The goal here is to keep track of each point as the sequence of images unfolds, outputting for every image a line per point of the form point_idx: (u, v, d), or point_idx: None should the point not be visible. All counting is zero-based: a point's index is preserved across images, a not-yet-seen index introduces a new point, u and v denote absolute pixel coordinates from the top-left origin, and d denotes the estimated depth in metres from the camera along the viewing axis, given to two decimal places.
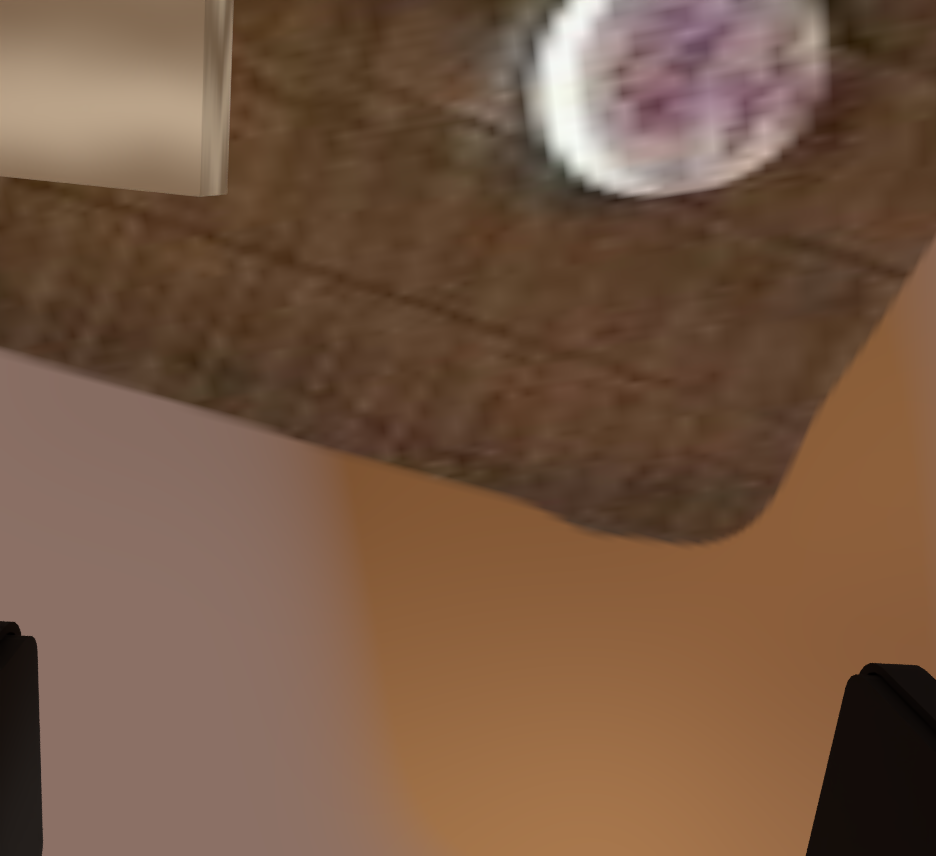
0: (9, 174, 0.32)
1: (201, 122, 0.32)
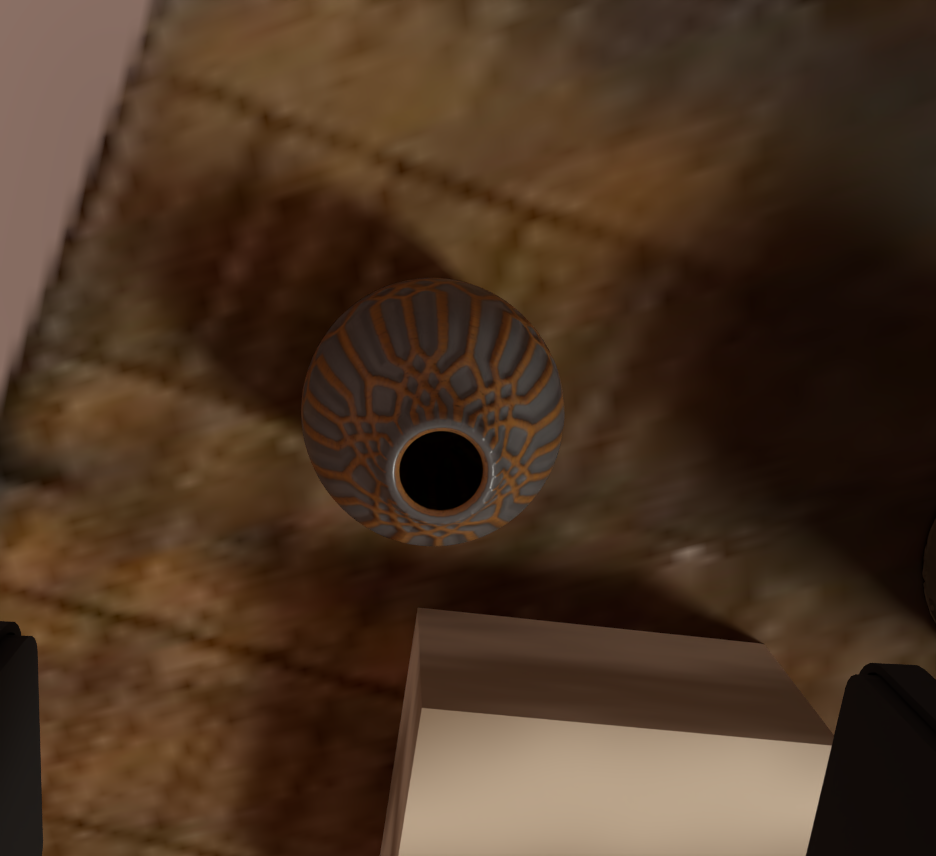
0: None
1: None
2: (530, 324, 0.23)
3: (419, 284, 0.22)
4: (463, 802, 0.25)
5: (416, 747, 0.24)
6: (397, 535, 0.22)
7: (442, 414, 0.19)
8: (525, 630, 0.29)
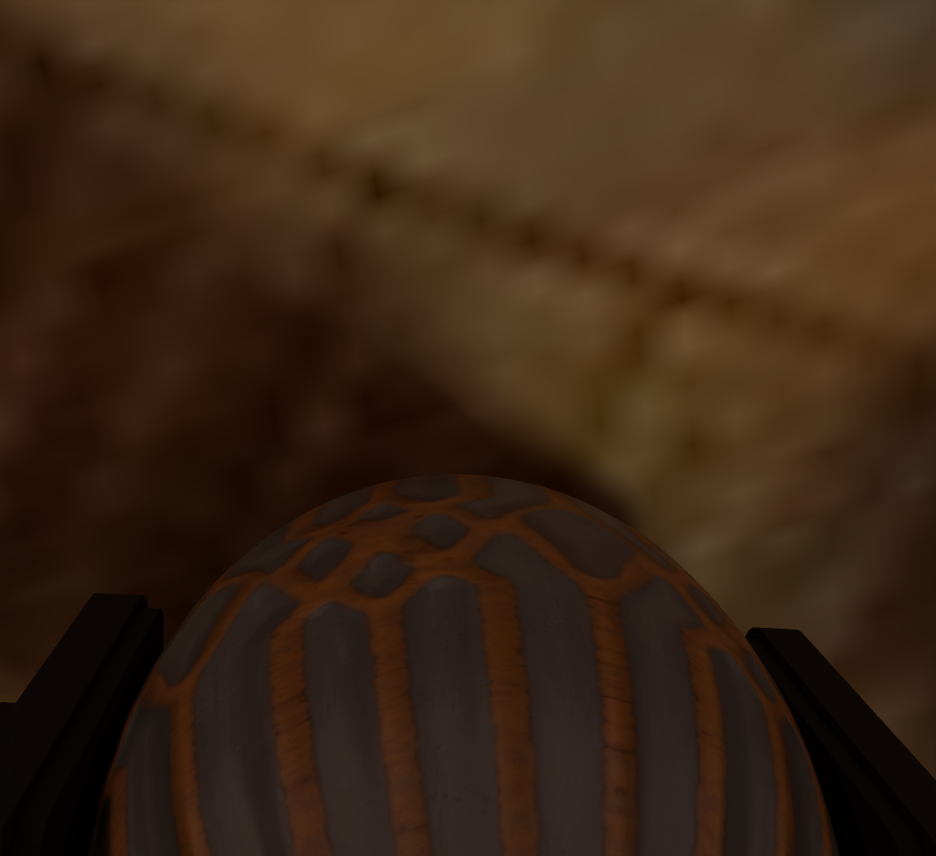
0: None
1: None
2: (738, 634, 0.08)
3: (425, 539, 0.08)
4: None
5: None
6: None
7: None
8: None
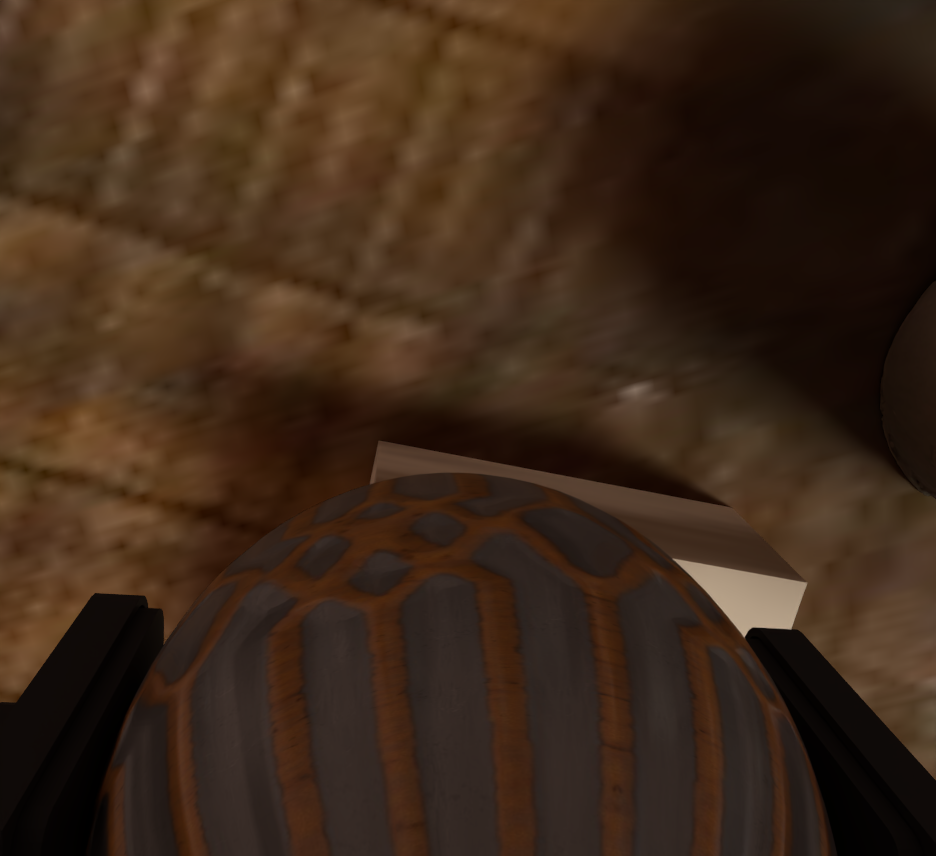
0: None
1: None
2: (736, 632, 0.08)
3: (423, 537, 0.08)
4: None
5: None
6: None
7: None
8: (488, 468, 0.28)
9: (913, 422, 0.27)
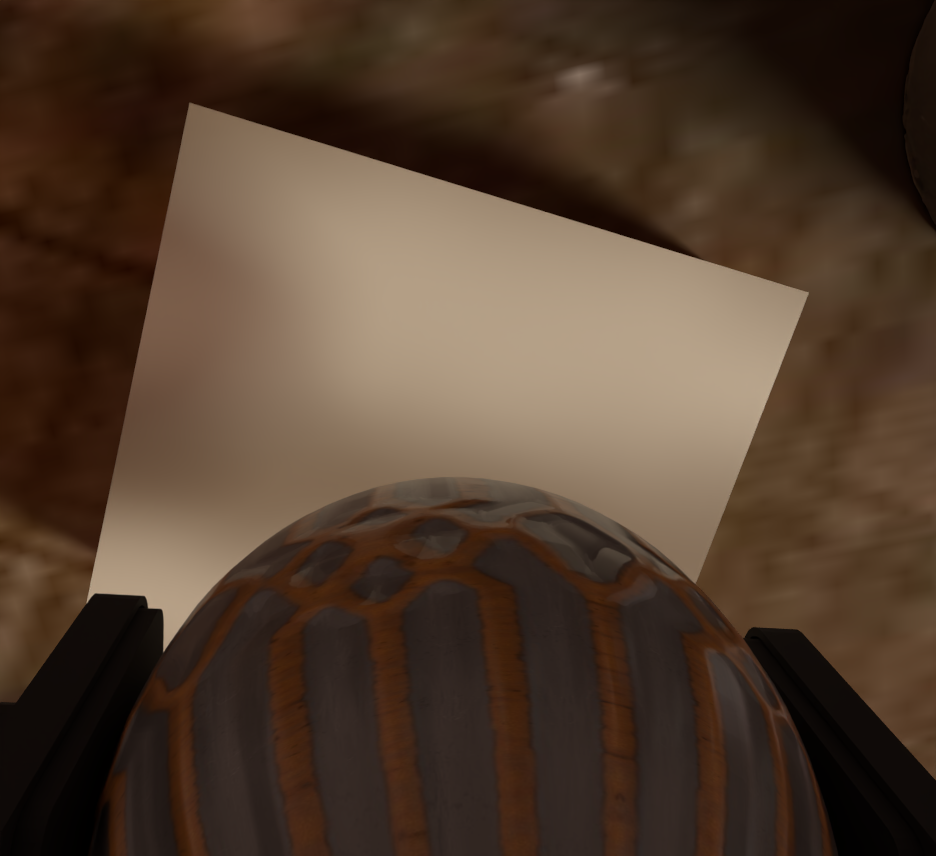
0: None
1: None
2: (738, 638, 0.08)
3: (425, 543, 0.08)
4: (242, 286, 0.16)
5: (176, 174, 0.16)
6: None
7: None
8: None
9: None
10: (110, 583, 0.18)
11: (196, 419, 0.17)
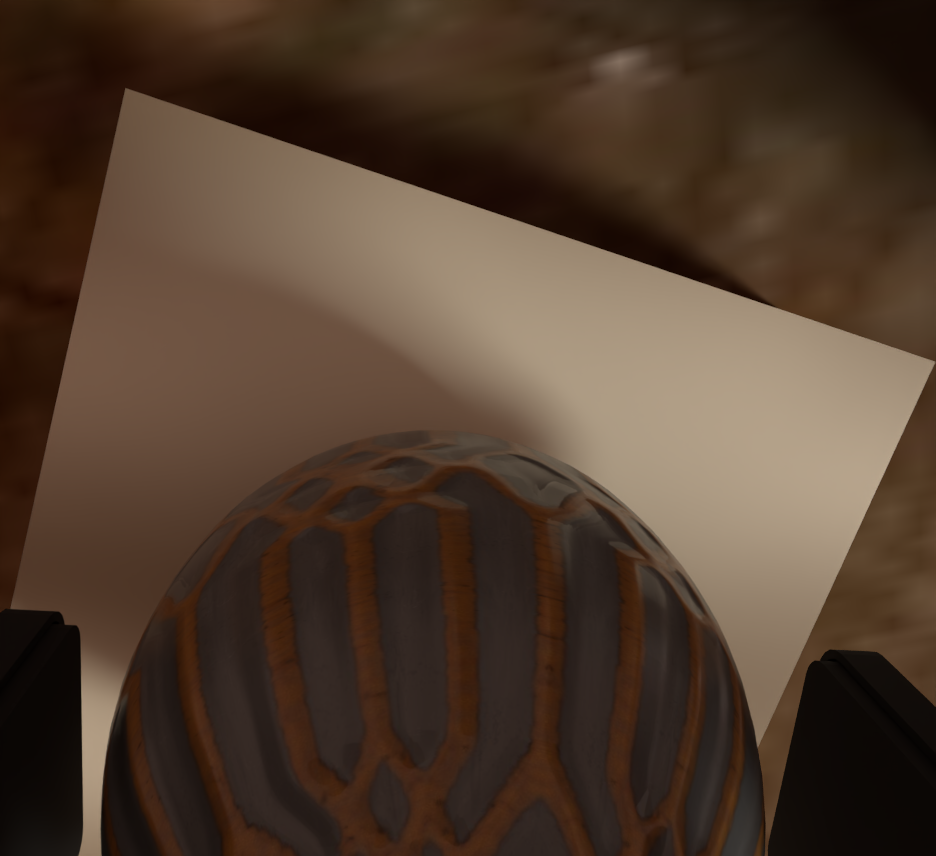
0: None
1: None
2: (672, 560, 0.09)
3: (395, 475, 0.09)
4: (193, 335, 0.12)
5: (106, 184, 0.12)
6: None
7: None
8: None
9: None
10: None
11: (129, 506, 0.13)
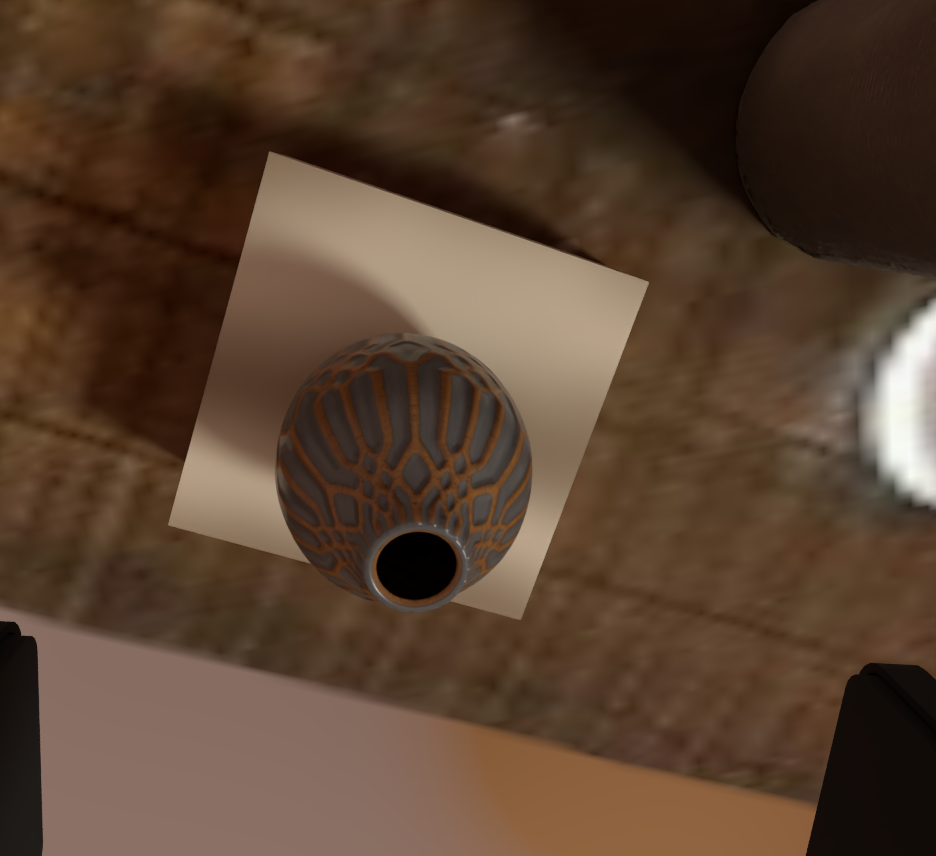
0: None
1: (545, 551, 0.30)
2: (472, 368, 0.23)
3: (354, 363, 0.22)
4: (295, 264, 0.27)
5: (258, 194, 0.26)
6: None
7: (402, 517, 0.19)
8: (386, 190, 0.31)
9: (758, 147, 0.30)
10: (200, 451, 0.28)
11: (262, 346, 0.27)
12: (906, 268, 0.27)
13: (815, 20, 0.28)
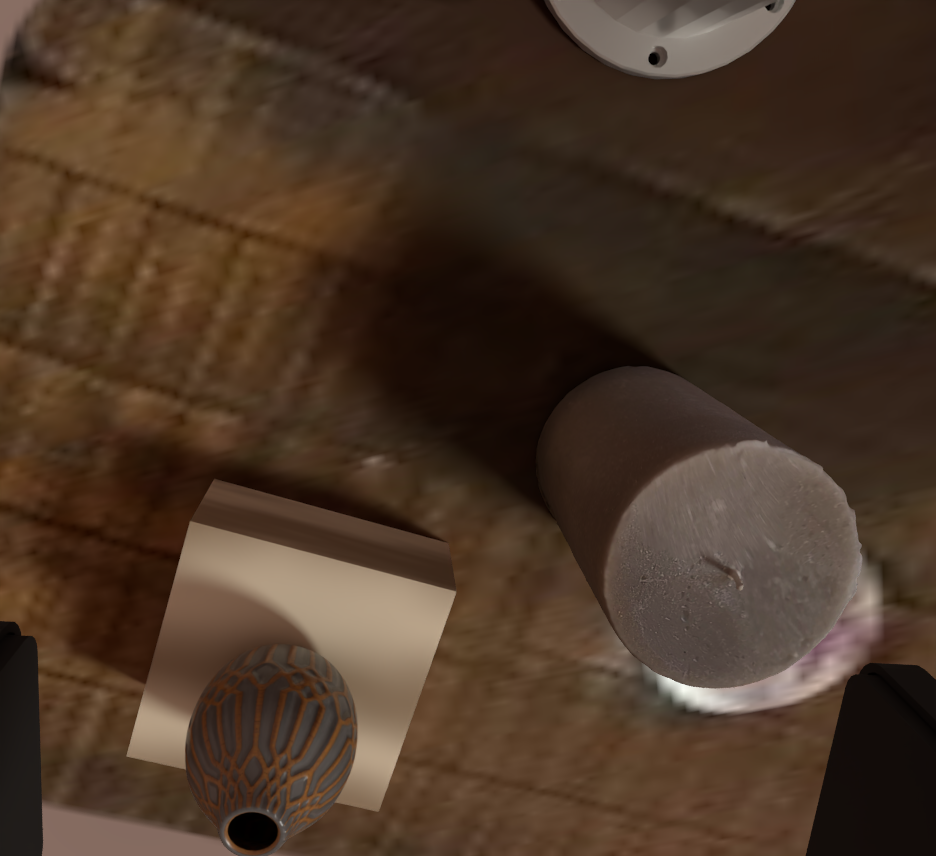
0: None
1: (394, 765, 0.42)
2: (306, 682, 0.36)
3: (229, 684, 0.35)
4: (209, 589, 0.39)
5: (183, 546, 0.38)
6: (263, 840, 0.35)
7: (240, 803, 0.32)
8: (283, 502, 0.43)
9: (544, 487, 0.43)
10: (148, 708, 0.40)
11: (188, 641, 0.40)
12: None
13: (571, 419, 0.41)
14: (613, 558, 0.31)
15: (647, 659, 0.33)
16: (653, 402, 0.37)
